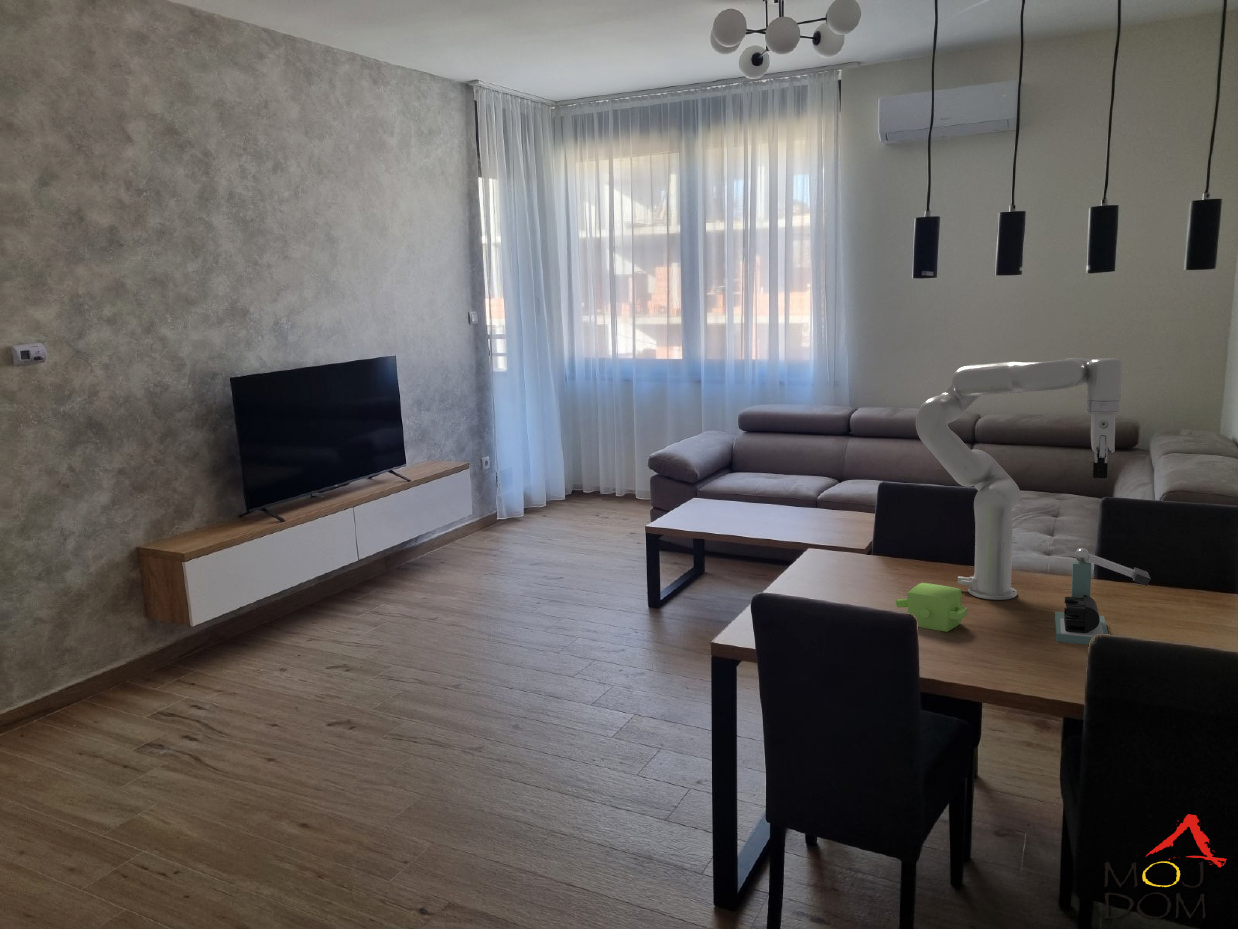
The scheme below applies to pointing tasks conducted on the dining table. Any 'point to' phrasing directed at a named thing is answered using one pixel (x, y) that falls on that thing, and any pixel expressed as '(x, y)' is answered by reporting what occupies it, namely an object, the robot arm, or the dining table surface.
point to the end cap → (1080, 614)
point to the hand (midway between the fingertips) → (1099, 477)
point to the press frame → (1079, 588)
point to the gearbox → (935, 606)
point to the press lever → (1113, 566)
